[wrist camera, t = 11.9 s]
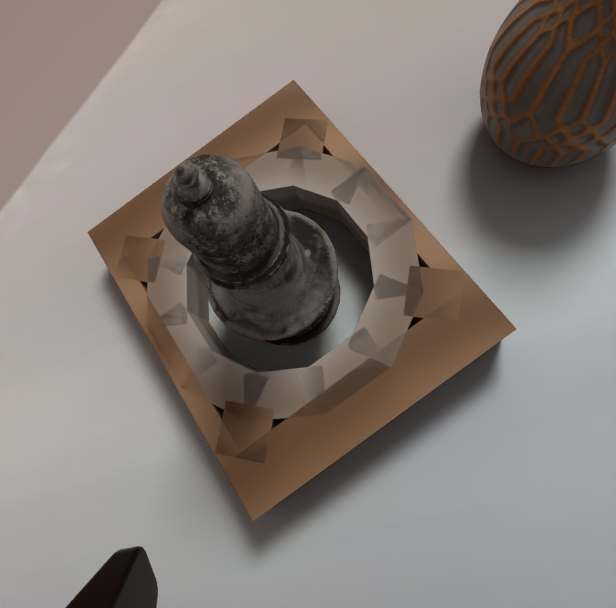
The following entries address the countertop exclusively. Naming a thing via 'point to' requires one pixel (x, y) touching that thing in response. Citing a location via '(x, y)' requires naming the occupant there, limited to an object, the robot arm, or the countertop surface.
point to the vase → (552, 82)
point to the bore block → (338, 362)
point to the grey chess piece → (252, 252)
